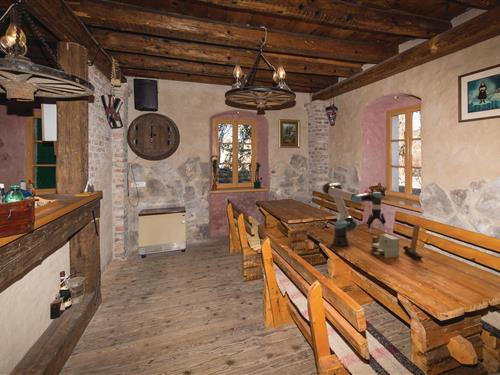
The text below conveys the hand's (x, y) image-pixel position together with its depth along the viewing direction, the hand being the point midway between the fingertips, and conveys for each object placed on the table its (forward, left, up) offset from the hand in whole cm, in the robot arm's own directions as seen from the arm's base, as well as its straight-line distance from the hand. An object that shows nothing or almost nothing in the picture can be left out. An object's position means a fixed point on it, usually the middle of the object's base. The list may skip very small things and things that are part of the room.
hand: (376, 231), depth 250 cm
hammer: (+25, +17, -18) cm, 35 cm away
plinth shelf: (+13, -1, -18) cm, 22 cm away
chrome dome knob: (+10, -6, -18) cm, 21 cm away
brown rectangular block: (+7, 0, -18) cm, 19 cm away
